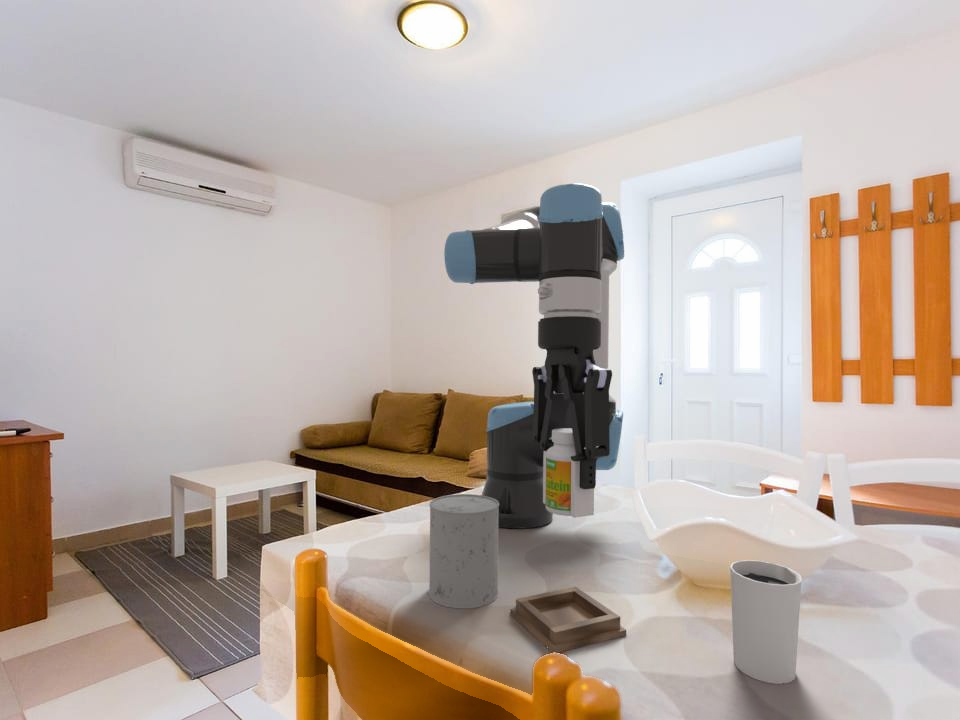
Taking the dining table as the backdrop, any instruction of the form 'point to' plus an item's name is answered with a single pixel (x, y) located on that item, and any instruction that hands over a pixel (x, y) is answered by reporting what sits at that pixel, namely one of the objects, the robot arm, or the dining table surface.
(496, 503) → the gray concrete cylinder
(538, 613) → the walnut holder
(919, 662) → the dining table surface
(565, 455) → the supplement bottle
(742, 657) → the white cup
